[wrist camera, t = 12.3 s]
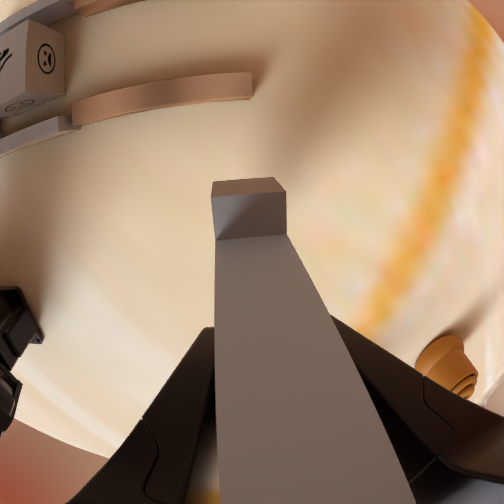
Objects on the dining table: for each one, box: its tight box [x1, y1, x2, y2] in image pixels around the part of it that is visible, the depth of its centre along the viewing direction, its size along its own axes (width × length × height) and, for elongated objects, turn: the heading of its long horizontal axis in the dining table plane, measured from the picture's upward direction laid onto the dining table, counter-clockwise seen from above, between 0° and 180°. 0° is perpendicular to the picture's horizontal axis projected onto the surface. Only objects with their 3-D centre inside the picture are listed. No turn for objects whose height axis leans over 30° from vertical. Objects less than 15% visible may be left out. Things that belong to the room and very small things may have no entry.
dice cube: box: [0, 19, 65, 117], centre depth 11 cm, size 5×5×5 cm
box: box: [0, 0, 80, 157], centre depth 12 cm, size 9×10×3 cm
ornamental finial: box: [415, 335, 478, 399], centre depth 26 cm, size 8×8×8 cm
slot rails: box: [71, 0, 253, 125], centre depth 13 cm, size 11×10×2 cm
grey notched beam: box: [211, 177, 416, 504], centre depth 8 cm, size 2×6×12 cm, turn 3°
